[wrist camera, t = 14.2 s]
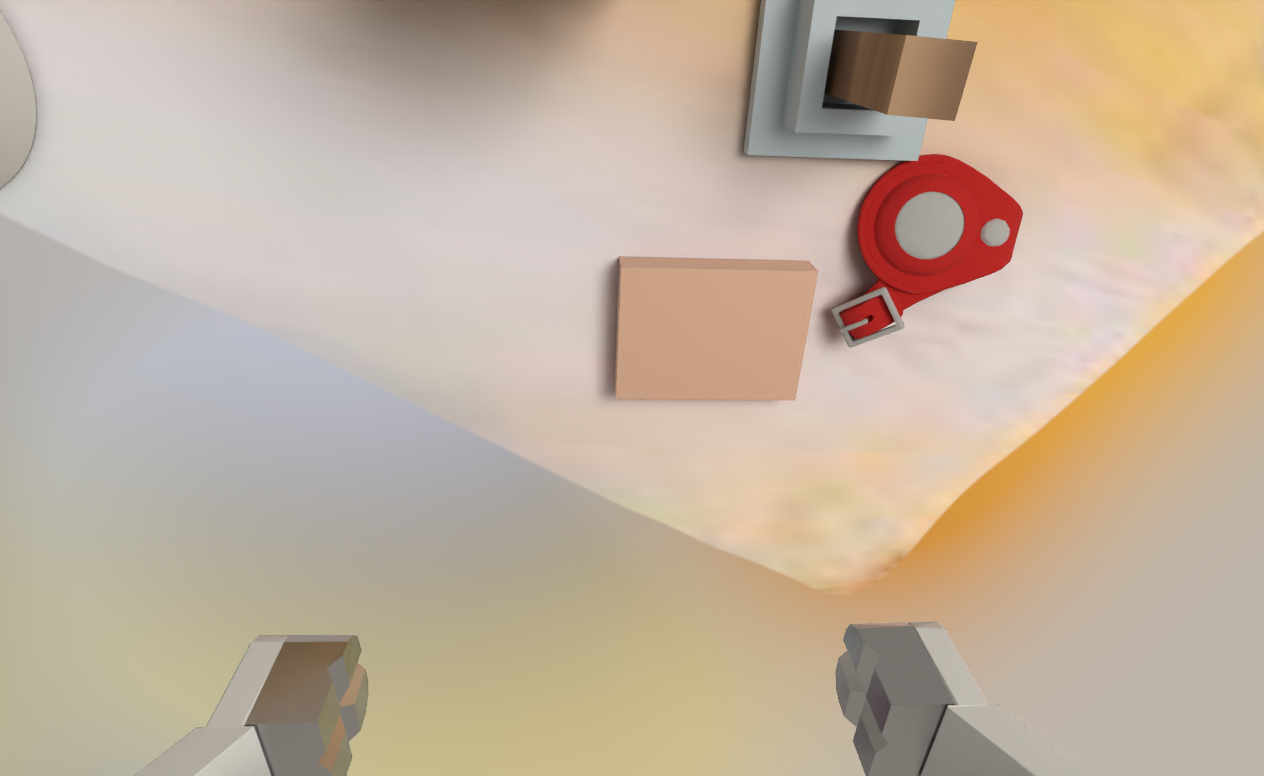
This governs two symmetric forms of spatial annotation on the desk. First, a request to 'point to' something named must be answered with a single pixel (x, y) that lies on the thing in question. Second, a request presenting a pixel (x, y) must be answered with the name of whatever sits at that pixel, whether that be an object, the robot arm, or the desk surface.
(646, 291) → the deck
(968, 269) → the tracker holder
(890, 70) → the post
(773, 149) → the grey square socket base
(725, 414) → the desk surface
